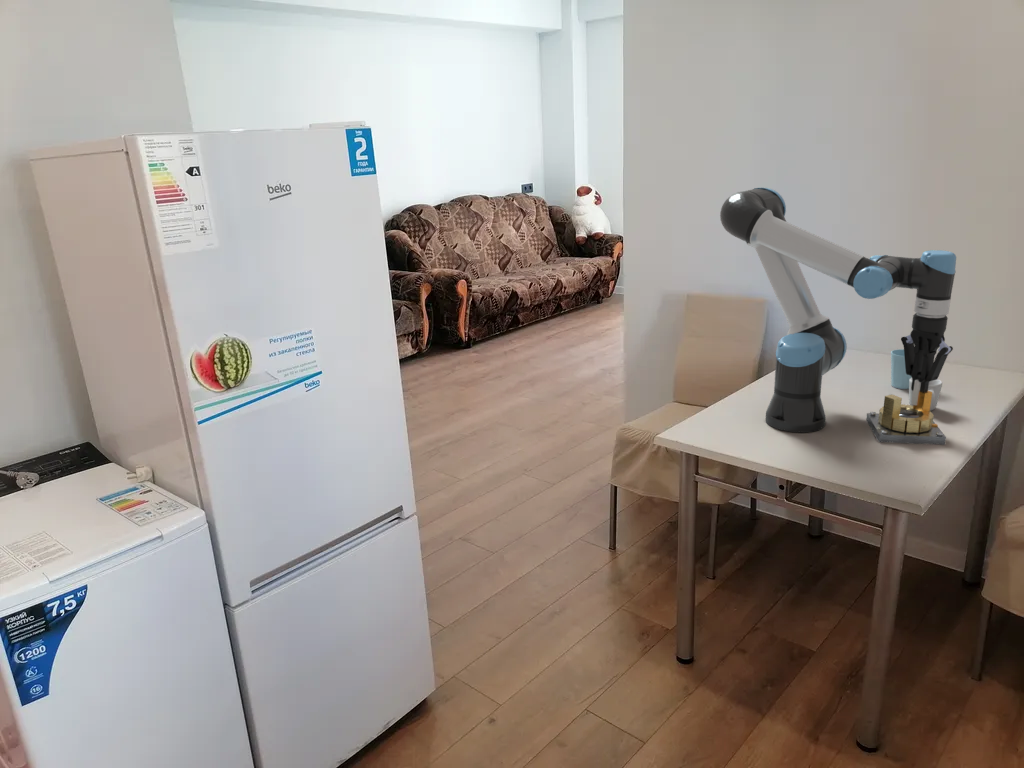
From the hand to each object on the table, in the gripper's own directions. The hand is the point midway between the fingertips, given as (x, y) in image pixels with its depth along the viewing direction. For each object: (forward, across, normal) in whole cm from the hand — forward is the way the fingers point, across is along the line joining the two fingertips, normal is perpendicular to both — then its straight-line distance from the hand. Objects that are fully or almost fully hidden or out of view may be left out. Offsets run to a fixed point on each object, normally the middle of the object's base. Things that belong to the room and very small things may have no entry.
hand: (917, 403), depth 195 cm
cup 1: (+7, -23, +25) cm, 35 cm away
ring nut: (+4, +1, -5) cm, 6 cm away
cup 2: (+7, -7, +13) cm, 16 cm away
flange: (+7, +1, -4) cm, 8 cm away
